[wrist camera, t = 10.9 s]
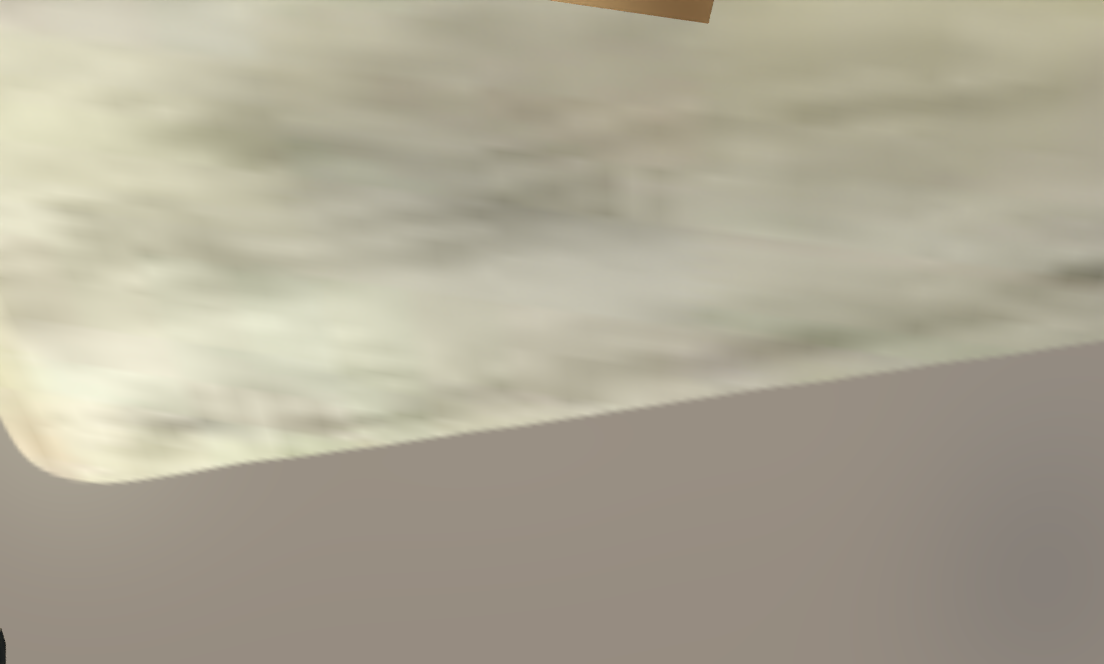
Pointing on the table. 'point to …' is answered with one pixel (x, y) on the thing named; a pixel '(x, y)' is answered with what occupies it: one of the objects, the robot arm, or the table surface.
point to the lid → (656, 7)
